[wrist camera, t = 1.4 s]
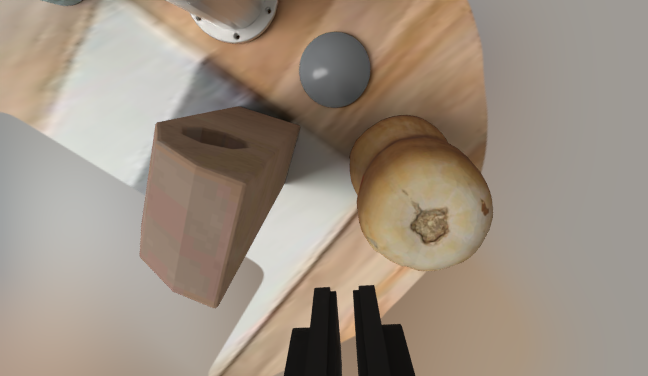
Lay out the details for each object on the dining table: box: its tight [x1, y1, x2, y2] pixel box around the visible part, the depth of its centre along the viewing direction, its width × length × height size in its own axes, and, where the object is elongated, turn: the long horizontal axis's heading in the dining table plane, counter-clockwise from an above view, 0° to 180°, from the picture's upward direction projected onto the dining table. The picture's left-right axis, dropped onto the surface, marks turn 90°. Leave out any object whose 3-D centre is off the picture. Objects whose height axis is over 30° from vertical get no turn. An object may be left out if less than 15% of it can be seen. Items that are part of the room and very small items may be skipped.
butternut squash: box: [349, 115, 493, 271], centre depth 37 cm, size 14×13×25 cm
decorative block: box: [140, 106, 300, 308], centre depth 35 cm, size 10×10×30 cm
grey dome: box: [299, 32, 370, 108], centre depth 45 cm, size 10×10×1 cm
